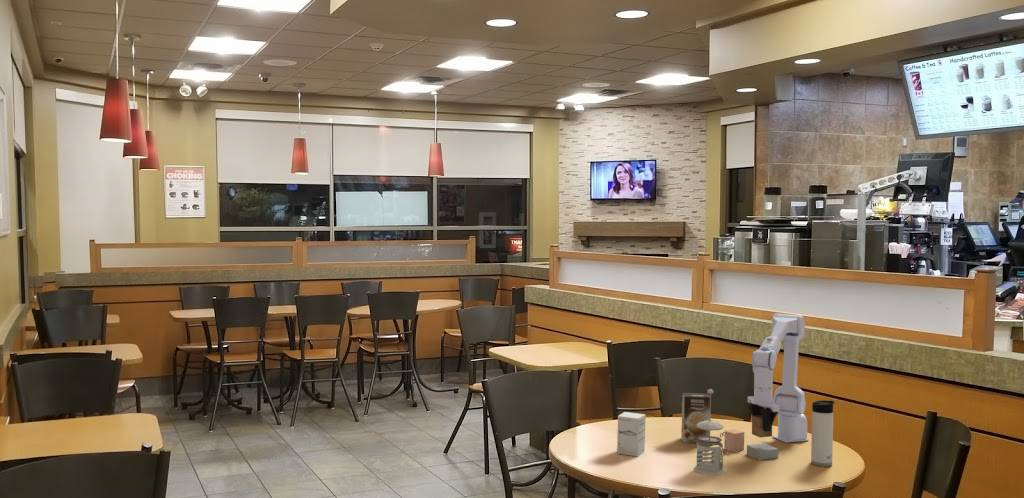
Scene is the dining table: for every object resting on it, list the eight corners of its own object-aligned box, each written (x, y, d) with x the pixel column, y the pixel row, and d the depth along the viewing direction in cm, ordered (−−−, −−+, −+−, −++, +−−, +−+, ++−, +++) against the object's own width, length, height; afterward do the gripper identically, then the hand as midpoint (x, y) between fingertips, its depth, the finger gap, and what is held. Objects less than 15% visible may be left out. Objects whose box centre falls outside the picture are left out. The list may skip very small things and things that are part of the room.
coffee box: (682, 442, 290) (683, 396, 290) (681, 438, 297) (681, 392, 296) (710, 443, 289) (710, 397, 289) (707, 438, 296) (708, 393, 295)
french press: (702, 463, 266) (703, 384, 265) (736, 470, 259) (738, 389, 258) (687, 470, 259) (688, 389, 258) (722, 478, 251) (723, 394, 250)
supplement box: (616, 454, 276) (616, 415, 276) (624, 448, 283) (624, 411, 282) (638, 457, 273) (638, 418, 272) (645, 451, 279) (646, 413, 279)
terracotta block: (733, 446, 286) (733, 429, 286) (744, 449, 282) (744, 431, 282) (724, 448, 284) (724, 430, 283) (734, 451, 280) (734, 433, 280)
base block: (765, 452, 279) (765, 443, 279) (777, 458, 272) (778, 448, 272) (746, 454, 277) (746, 444, 277) (759, 460, 270) (759, 450, 270)
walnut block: (763, 432, 277) (763, 414, 277) (772, 436, 273) (772, 417, 273) (751, 434, 276) (752, 415, 276) (760, 437, 272) (760, 419, 271)
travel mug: (835, 467, 263) (836, 403, 262) (812, 466, 264) (813, 402, 263) (831, 461, 269) (832, 399, 268) (809, 460, 270) (810, 398, 269)
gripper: (739, 383, 279) (739, 424, 280) (766, 392, 266) (765, 435, 266) (758, 382, 282) (757, 423, 282) (785, 391, 268) (784, 433, 268)
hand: (762, 429), depth 274 cm, fingers closed on walnut block, 4 cm apart
